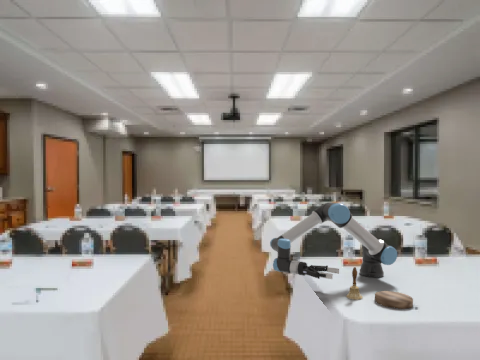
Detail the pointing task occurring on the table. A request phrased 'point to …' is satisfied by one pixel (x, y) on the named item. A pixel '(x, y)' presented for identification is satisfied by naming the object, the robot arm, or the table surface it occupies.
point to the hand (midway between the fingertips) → (335, 273)
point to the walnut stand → (393, 299)
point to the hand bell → (354, 288)
